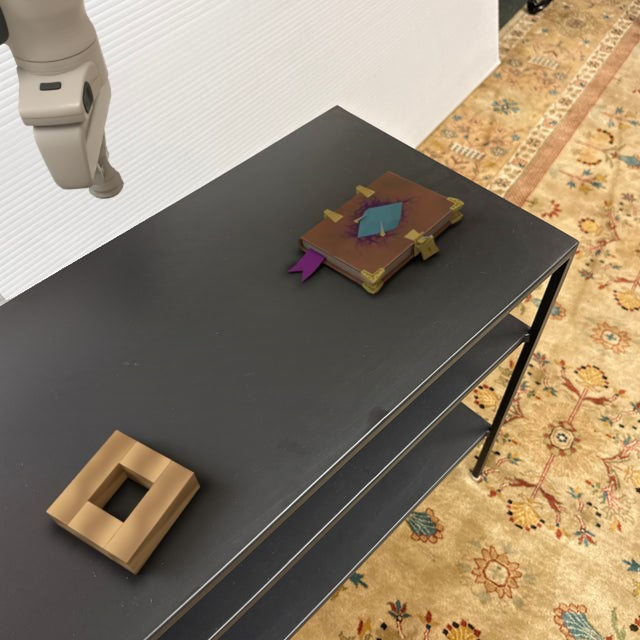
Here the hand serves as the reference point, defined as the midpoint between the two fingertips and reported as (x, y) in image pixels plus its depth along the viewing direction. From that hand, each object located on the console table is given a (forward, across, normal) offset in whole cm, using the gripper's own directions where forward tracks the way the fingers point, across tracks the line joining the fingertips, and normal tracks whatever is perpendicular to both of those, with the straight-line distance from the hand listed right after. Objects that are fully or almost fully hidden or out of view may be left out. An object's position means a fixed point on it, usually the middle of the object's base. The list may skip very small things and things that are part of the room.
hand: (100, 170), depth 80 cm
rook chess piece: (+3, 0, 0) cm, 3 cm away
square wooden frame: (+17, +37, +3) cm, 41 cm away
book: (+17, +1, +35) cm, 39 cm away
